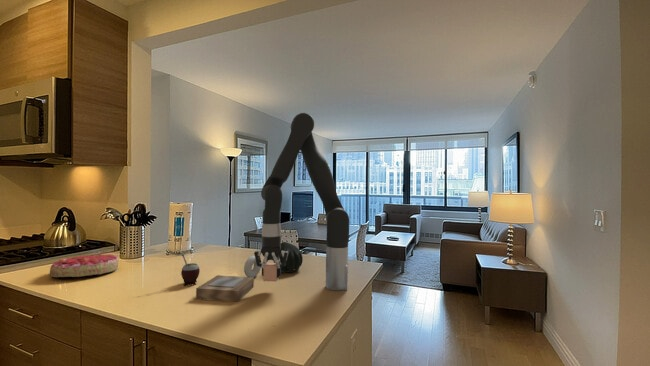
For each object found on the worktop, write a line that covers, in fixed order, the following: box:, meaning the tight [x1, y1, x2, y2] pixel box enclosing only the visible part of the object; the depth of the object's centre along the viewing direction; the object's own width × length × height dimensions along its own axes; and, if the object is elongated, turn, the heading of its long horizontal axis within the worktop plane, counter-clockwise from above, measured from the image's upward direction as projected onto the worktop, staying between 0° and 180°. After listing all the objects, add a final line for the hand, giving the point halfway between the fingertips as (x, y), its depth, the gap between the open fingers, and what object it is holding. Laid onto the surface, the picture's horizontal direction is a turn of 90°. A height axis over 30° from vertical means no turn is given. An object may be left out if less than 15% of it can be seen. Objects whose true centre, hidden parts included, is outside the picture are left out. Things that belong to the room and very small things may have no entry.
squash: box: [272, 241, 304, 273], centre depth 147 cm, size 14×15×15 cm
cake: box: [49, 254, 119, 279], centre depth 137 cm, size 25×25×8 cm
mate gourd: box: [175, 249, 200, 287], centre depth 125 cm, size 8×8×15 cm
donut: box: [243, 255, 262, 278], centre depth 135 cm, size 10×4×10 cm, turn 153°
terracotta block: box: [263, 262, 280, 282], centre depth 118 cm, size 5×5×6 cm
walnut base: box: [195, 274, 255, 303], centre depth 115 cm, size 16×16×4 cm
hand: (271, 276), depth 118 cm, fingers closed on terracotta block, 5 cm apart
